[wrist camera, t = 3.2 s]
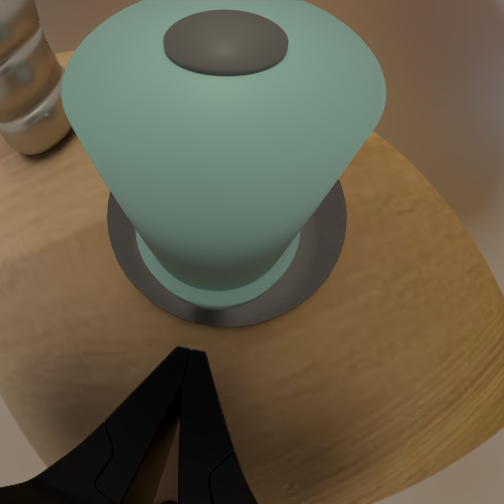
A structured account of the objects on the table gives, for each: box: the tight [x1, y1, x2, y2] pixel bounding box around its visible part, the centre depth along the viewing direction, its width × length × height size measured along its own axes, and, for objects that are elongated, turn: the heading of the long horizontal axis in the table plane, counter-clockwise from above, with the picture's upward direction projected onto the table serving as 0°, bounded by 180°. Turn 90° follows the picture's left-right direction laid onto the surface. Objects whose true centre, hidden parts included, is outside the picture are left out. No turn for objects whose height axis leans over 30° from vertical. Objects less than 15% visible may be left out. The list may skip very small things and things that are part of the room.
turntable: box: [107, 179, 347, 327], centre depth 16 cm, size 13×13×1 cm
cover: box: [61, 0, 386, 310], centre depth 10 cm, size 7×7×11 cm
